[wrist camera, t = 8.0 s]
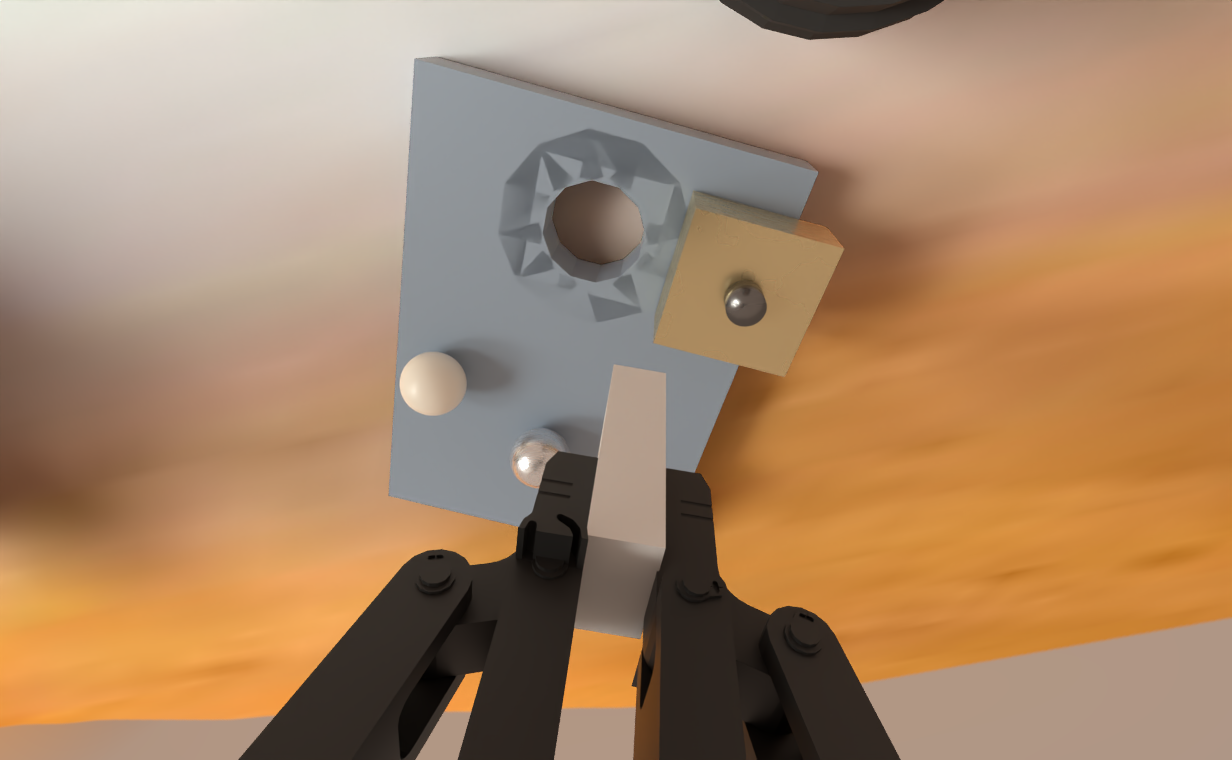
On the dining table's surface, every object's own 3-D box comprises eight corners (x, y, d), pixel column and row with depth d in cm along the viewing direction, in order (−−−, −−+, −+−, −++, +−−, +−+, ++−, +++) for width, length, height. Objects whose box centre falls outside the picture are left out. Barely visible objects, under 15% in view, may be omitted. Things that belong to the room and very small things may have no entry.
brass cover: (654, 314, 28) (652, 353, 25) (693, 190, 25) (697, 214, 22) (774, 346, 28) (788, 388, 25) (826, 226, 25) (851, 257, 22)
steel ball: (513, 455, 33) (499, 493, 30) (522, 410, 32) (508, 445, 29) (568, 468, 33) (559, 507, 31) (579, 424, 32) (571, 461, 29)
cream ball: (412, 385, 31) (387, 419, 29) (416, 333, 30) (390, 364, 27) (470, 400, 32) (451, 435, 29) (477, 349, 30) (458, 381, 27)
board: (404, 469, 38) (388, 495, 36) (435, 56, 26) (414, 58, 23) (659, 530, 39) (658, 559, 37) (806, 160, 26) (818, 172, 24)
